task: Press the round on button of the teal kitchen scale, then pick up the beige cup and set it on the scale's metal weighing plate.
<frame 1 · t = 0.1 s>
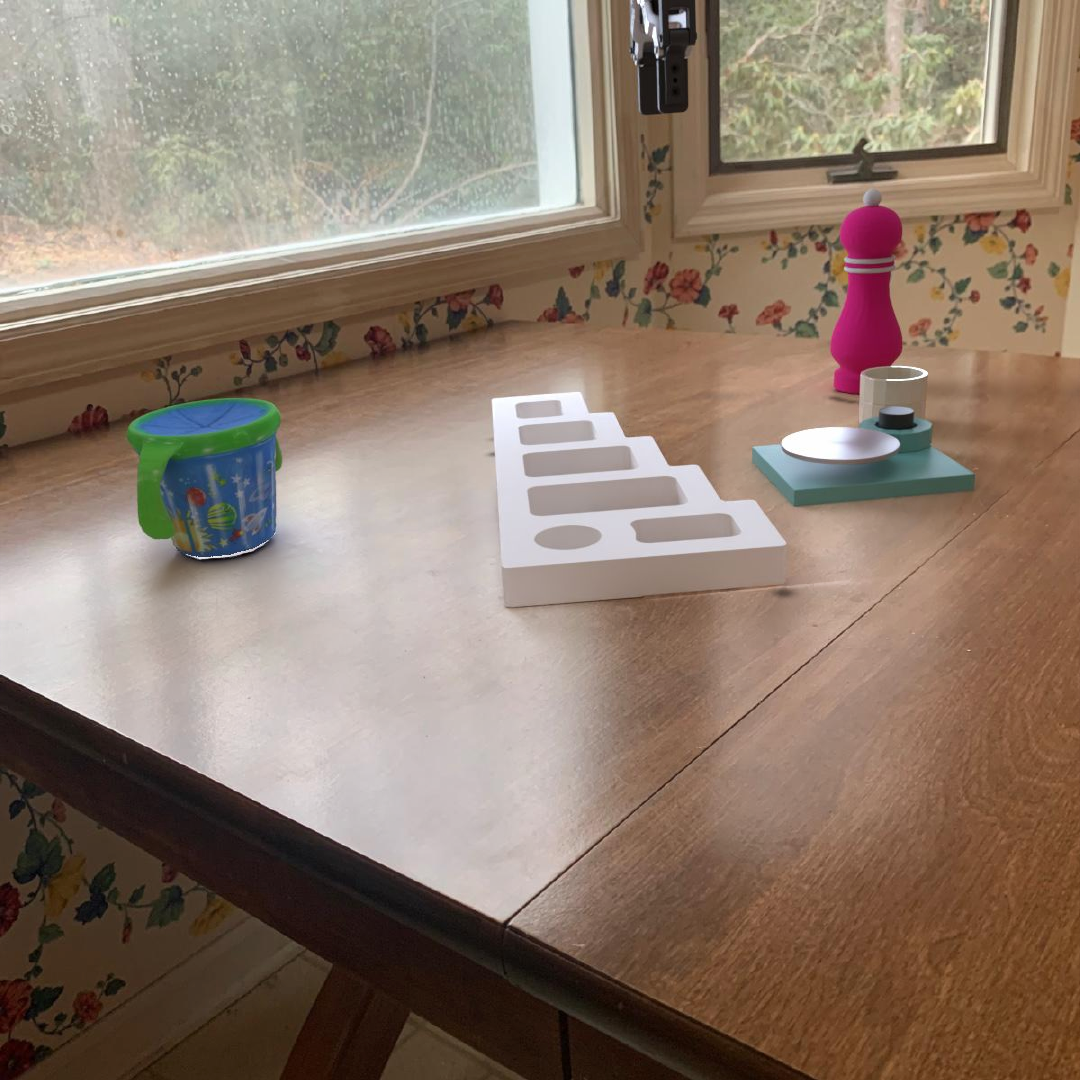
hand: (662, 113, 86), 28 cm above the table, tool pointing down, fingers open, 8 cm apart
pepper mill: (864, 389, 115), on the table
tare button: (896, 419, 90), point 3 cm above the table, slide at 0.1 cm
beige cup: (891, 426, 101), on the table
snack cup: (227, 547, 83), on the table
weighing plate: (839, 447, 86), resting on scale
scale: (856, 475, 88), on the table
holder: (606, 488, 90), on the table
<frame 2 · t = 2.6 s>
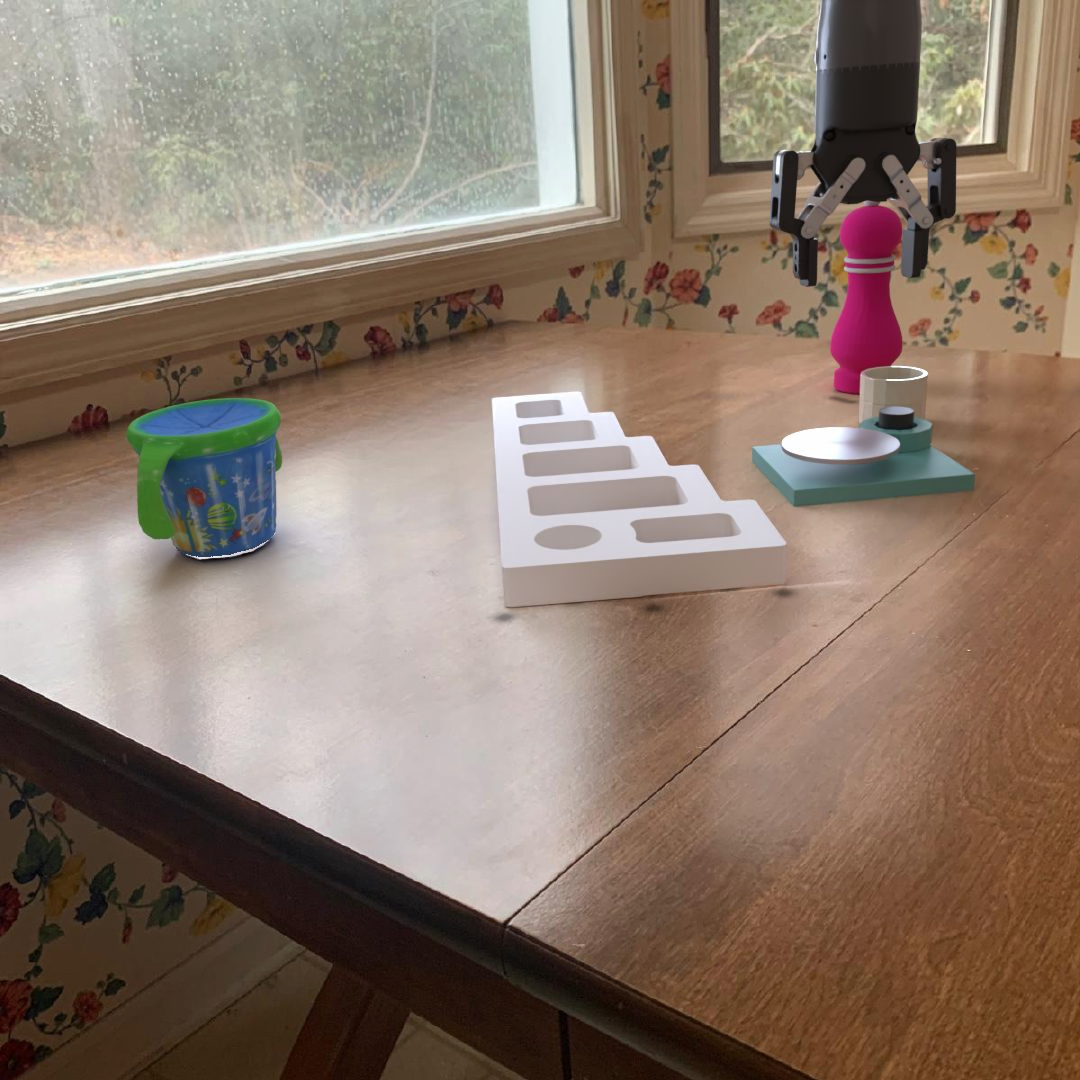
hand: (859, 281, 88), 15 cm above the table, tool pointing down, fingers open, 8 cm apart
nothing on the table moved.
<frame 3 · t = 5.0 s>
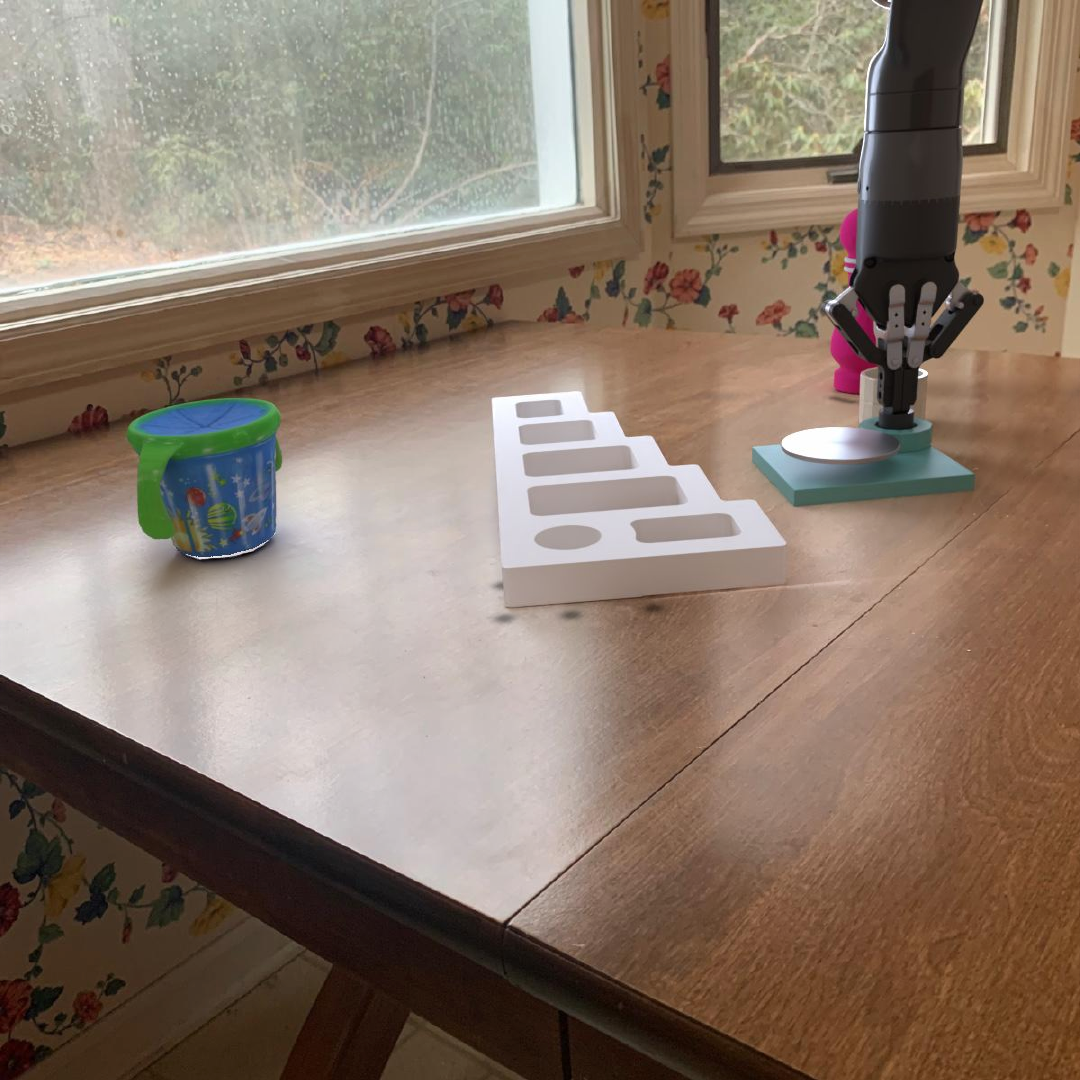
hand: (896, 410, 90), 4 cm above the table, tool pointing down, fingers closed
tare button: (896, 419, 91), point 3 cm above the table, slide at 0.1 cm, touching gripper
everything else where it was.
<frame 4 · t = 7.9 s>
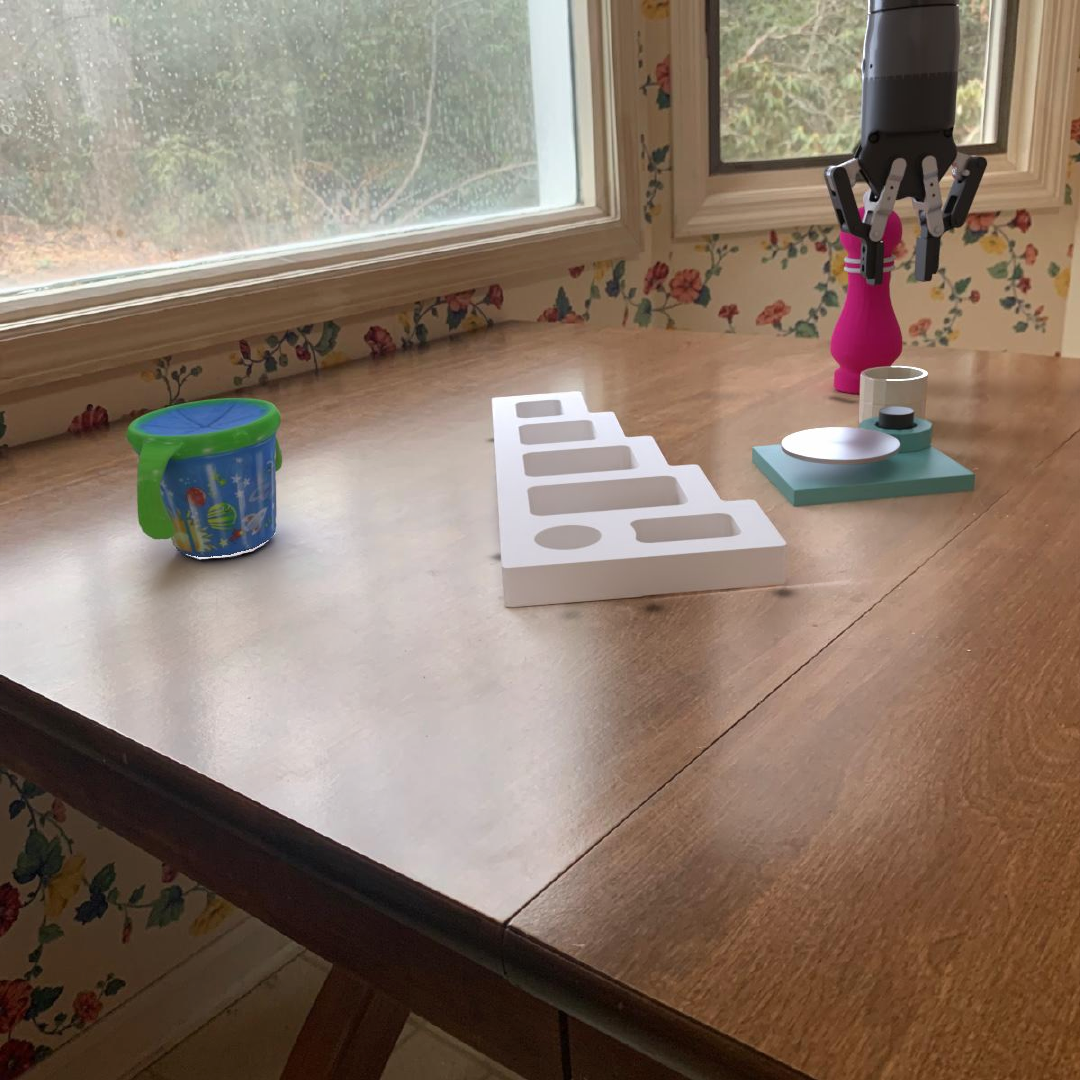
hand: (898, 281, 96), 13 cm above the table, tool pointing down, fingers open, 4 cm apart
tare button: (896, 419, 90), point 3 cm above the table, slide at 0.1 cm
everything else where it was.
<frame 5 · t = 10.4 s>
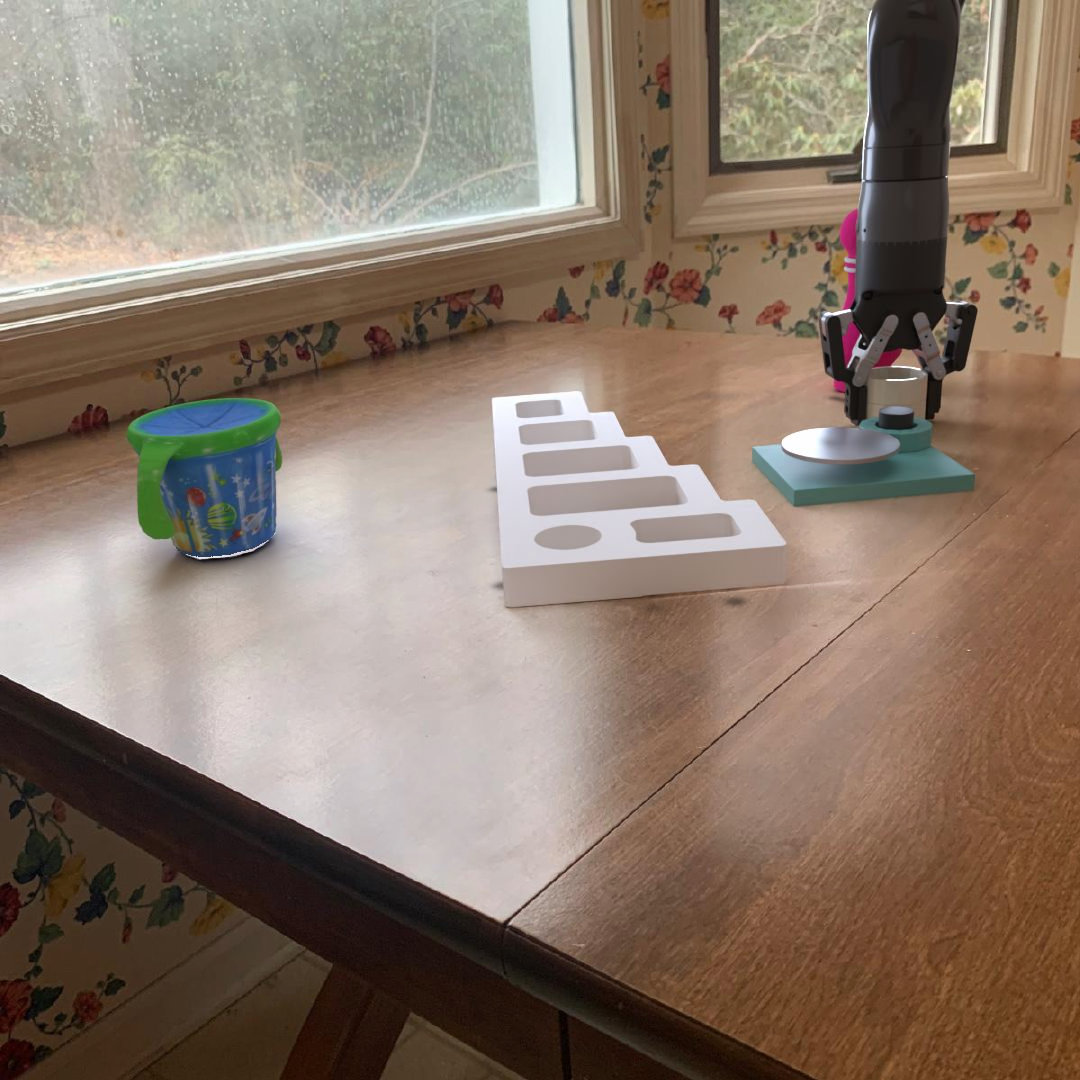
hand: (891, 420, 101), 1 cm above the table, tool pointing down, fingers closed on beige cup, 6 cm apart
beige cup: (891, 426, 101), on the table, touching gripper
everything else where it was.
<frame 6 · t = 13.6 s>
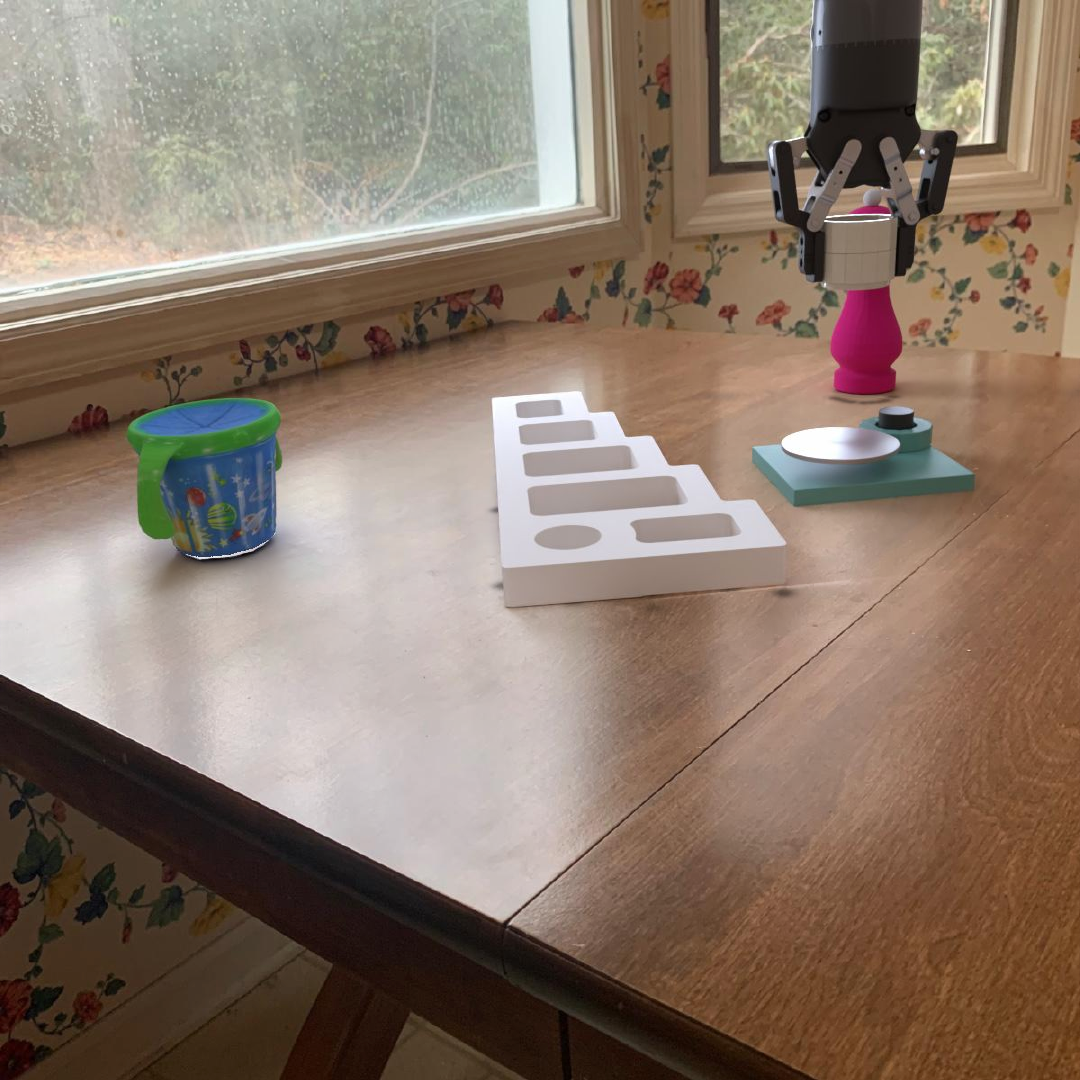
hand: (855, 277, 84), 16 cm above the table, tool pointing down, fingers closed on beige cup, 6 cm apart
beige cup: (854, 285, 84), point 15 cm above the table, touching gripper
everything else where it was.
when the fingers open (4 cm above the table, at t = 17.0 s): beige cup stays where it is, resting on weighing plate.
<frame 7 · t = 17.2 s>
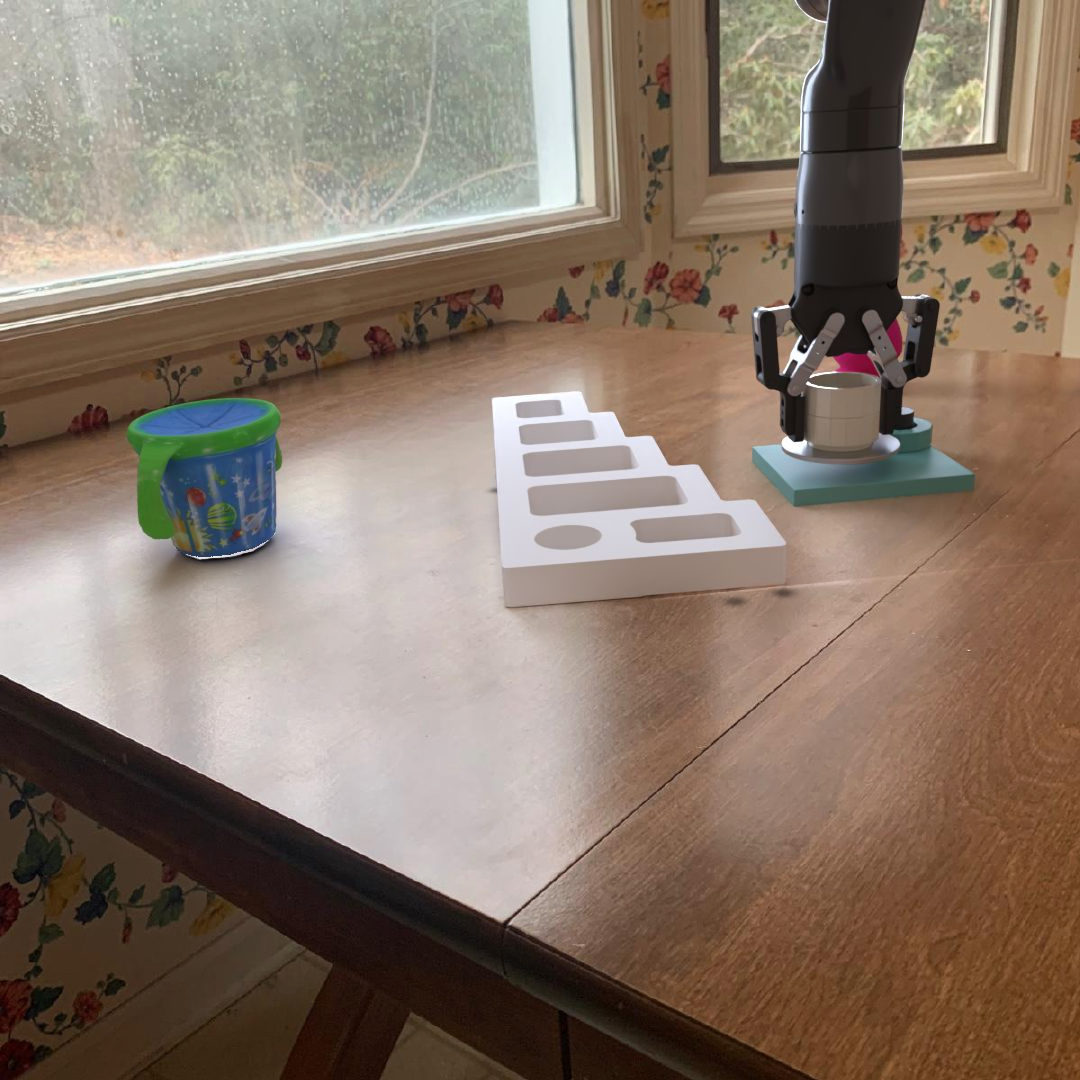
hand: (840, 435, 85), 4 cm above the table, tool pointing down, fingers open, 6 cm apart
beige cup: (839, 442, 85), point 3 cm above the table, touching weighing plate
everything else where it was.
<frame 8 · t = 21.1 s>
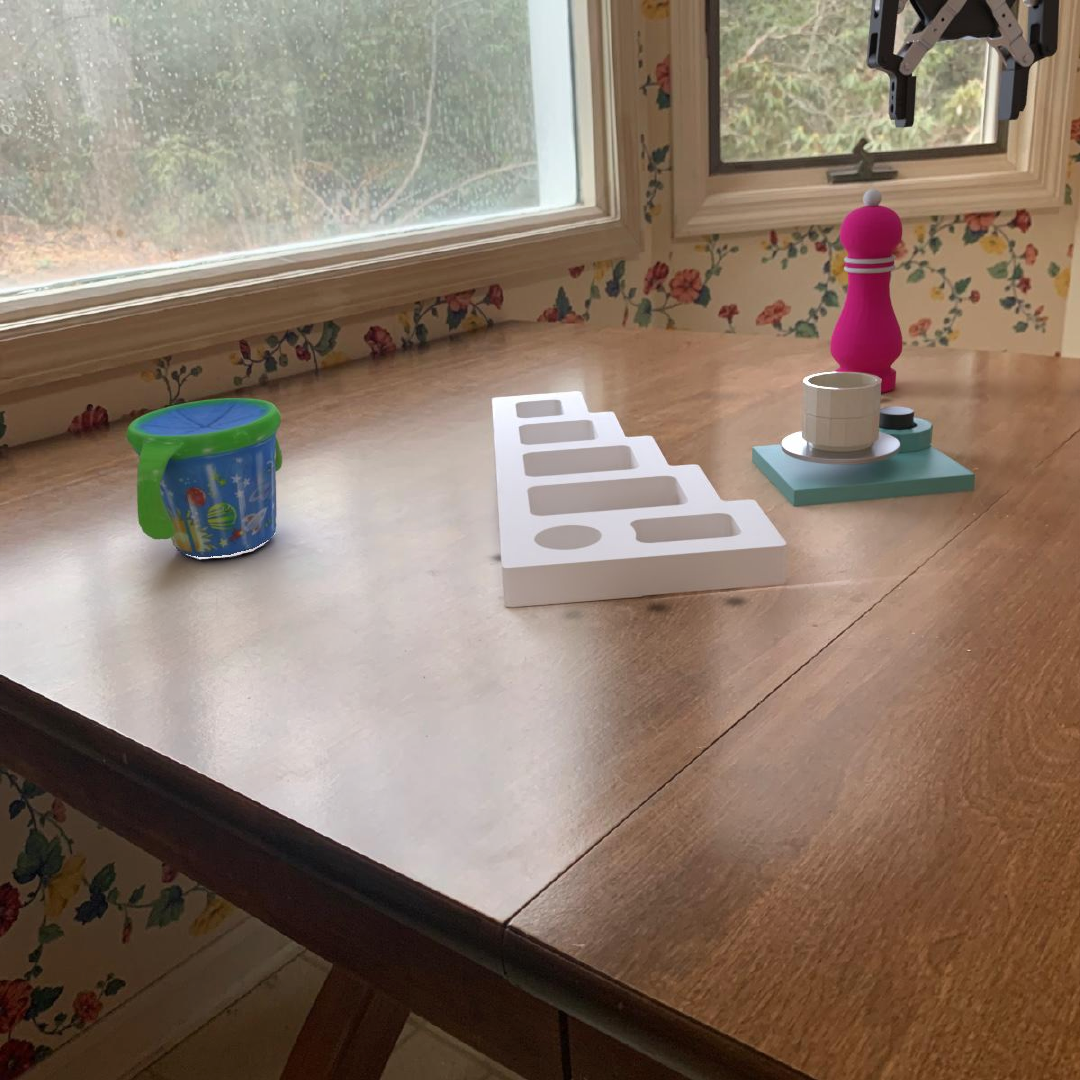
hand: (956, 123, 87), 26 cm above the table, tool pointing down, fingers open, 8 cm apart
nothing on the table moved.
at the end: tare button pushed in 0.9 cm at the most during the clip, back to where it started at the end; beige cup inside the target area on the scale (0.0 cm from its centre), point 3.4 cm above the scale's base; beige cup tilted 0° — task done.
